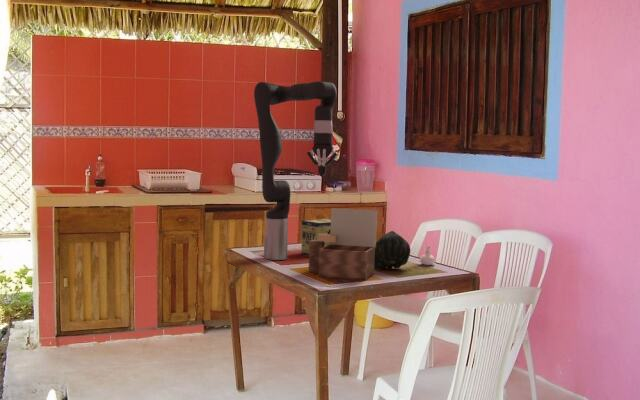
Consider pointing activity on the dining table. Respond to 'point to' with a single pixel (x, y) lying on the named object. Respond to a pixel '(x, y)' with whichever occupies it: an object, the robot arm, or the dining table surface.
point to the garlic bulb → (427, 257)
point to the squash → (391, 251)
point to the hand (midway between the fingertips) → (322, 175)
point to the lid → (354, 227)
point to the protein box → (313, 232)
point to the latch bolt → (328, 237)
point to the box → (341, 260)
